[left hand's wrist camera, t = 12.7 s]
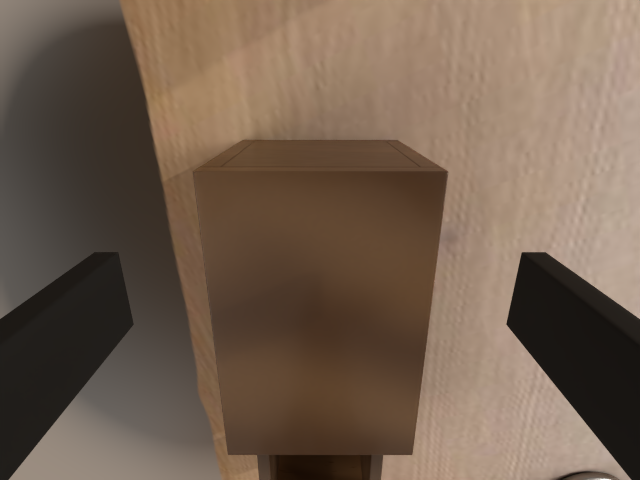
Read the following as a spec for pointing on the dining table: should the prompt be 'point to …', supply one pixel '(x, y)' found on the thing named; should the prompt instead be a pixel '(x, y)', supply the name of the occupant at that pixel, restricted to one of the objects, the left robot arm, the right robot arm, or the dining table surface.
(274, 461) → the drawer
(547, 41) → the dining table surface
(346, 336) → the cabinet
